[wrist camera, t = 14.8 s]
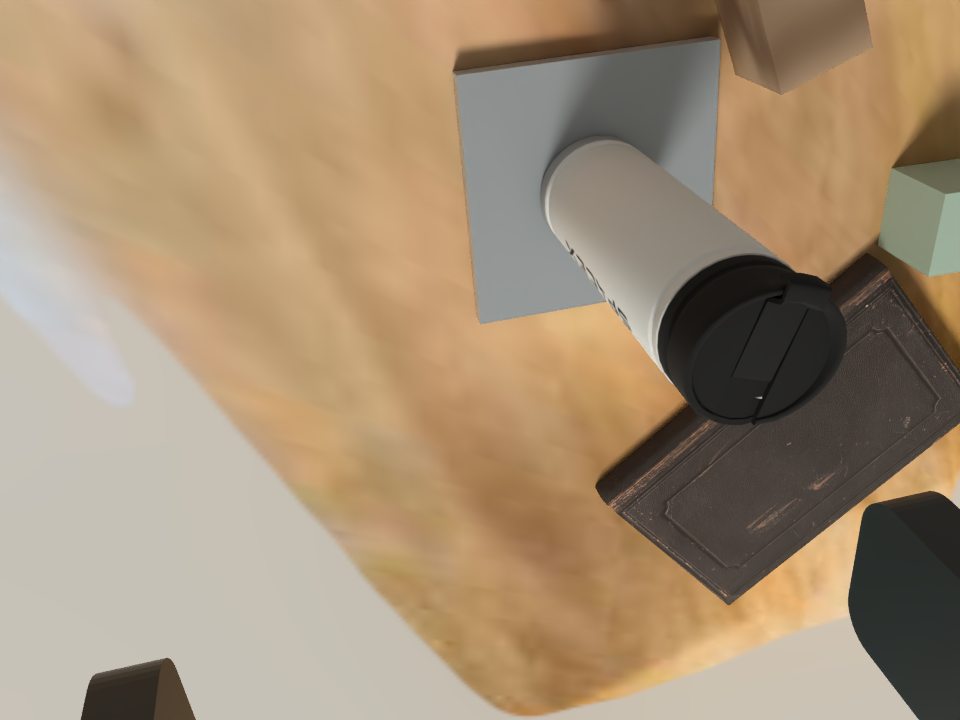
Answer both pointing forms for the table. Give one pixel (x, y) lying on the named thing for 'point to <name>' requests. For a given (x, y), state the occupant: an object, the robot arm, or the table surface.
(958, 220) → the sage block
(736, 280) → the travel mug
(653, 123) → the slate board
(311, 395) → the table surface
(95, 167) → the table surface
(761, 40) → the walnut block
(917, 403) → the hardcover book
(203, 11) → the table surface
